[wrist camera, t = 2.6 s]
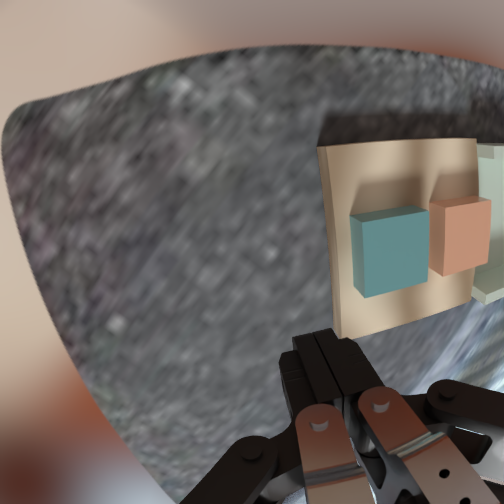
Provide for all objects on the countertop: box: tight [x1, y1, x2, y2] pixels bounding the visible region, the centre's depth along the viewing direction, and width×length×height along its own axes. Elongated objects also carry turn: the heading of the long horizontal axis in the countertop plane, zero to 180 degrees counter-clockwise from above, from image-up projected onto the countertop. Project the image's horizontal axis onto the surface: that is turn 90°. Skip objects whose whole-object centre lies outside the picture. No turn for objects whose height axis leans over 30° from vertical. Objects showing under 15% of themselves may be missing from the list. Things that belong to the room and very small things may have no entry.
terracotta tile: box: [428, 195, 491, 277], centre depth 20 cm, size 5×5×2 cm
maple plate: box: [317, 138, 479, 339], centre depth 22 cm, size 13×14×2 cm
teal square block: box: [349, 205, 429, 298], centre depth 20 cm, size 5×5×2 cm
